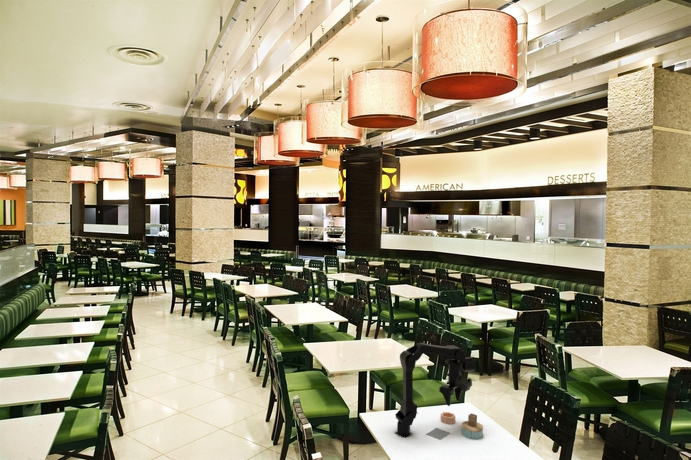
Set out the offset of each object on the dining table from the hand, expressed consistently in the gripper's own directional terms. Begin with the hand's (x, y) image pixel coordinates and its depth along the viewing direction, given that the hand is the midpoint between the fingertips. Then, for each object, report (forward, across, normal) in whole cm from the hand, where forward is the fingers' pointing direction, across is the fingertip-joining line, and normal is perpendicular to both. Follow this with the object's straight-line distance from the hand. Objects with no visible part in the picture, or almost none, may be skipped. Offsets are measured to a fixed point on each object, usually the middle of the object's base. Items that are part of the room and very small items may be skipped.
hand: (453, 403), depth 228 cm
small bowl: (+13, +6, +6) cm, 16 cm away
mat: (+13, -10, +2) cm, 17 cm away
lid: (+9, +1, -10) cm, 13 cm away
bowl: (+13, +1, -10) cm, 16 cm away
